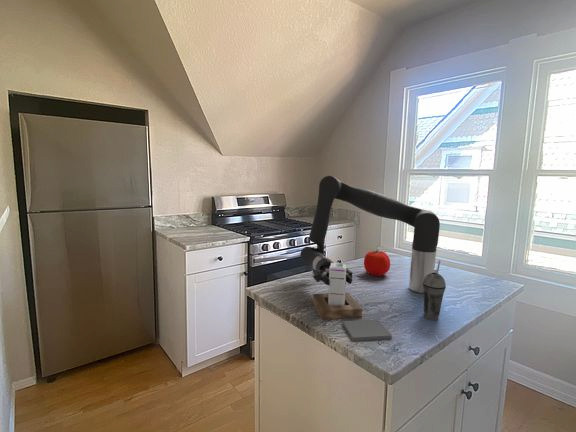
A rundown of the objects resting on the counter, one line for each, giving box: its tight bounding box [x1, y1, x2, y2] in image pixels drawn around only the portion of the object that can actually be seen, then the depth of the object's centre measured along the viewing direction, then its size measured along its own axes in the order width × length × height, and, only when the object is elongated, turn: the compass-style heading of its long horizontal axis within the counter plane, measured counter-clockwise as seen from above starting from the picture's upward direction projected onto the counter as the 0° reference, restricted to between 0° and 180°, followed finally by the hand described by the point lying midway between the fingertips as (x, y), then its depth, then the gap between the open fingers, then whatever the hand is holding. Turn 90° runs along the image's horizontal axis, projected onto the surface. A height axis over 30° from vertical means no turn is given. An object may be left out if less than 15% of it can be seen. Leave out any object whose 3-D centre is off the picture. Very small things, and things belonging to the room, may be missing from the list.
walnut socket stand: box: [312, 292, 363, 320], centre depth 113 cm, size 14×14×3 cm
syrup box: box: [327, 262, 347, 306], centre depth 112 cm, size 6×6×14 cm
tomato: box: [363, 249, 391, 277], centre depth 151 cm, size 12×13×12 cm
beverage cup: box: [422, 260, 447, 321], centre depth 108 cm, size 7×7×20 cm
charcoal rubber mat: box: [342, 319, 393, 342], centre depth 99 cm, size 12×10×1 cm
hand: (339, 281), depth 110 cm, fingers closed on syrup box, 7 cm apart
